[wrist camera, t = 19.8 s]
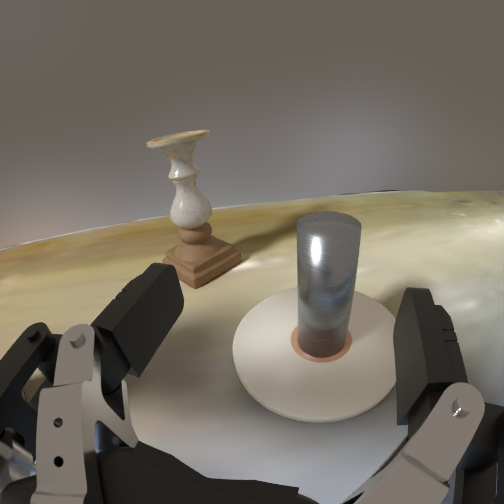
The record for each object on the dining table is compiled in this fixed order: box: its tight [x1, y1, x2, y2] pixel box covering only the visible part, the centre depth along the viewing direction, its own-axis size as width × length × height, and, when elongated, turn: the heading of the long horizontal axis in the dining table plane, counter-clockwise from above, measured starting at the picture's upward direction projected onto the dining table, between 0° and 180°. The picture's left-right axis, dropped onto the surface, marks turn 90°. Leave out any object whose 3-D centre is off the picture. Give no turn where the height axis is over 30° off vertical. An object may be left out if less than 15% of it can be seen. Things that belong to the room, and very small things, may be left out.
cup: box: [297, 211, 361, 358], centre depth 26 cm, size 6×6×14 cm
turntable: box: [233, 287, 396, 423], centre depth 30 cm, size 20×20×2 cm
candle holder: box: [147, 130, 241, 289], centre depth 46 cm, size 11×11×24 cm
